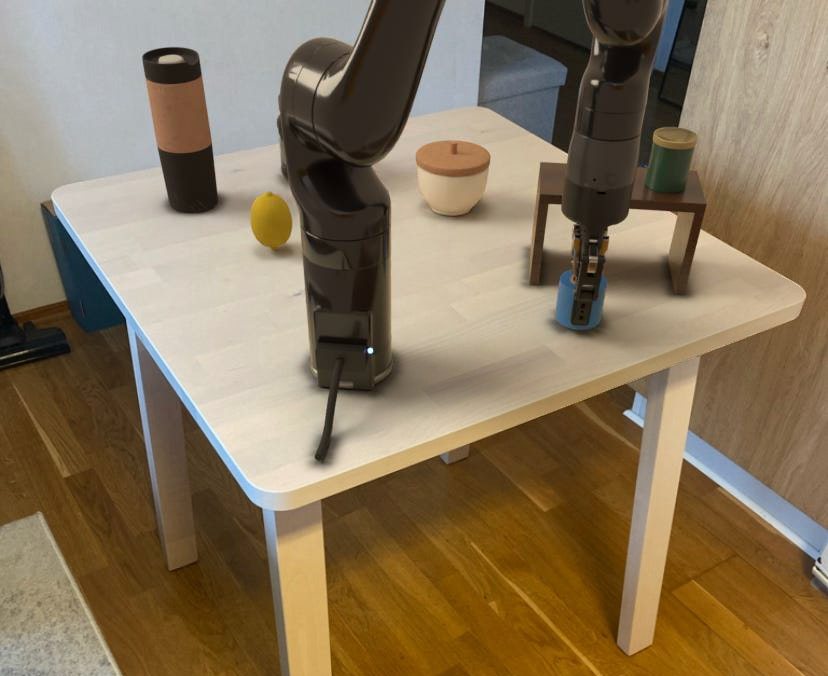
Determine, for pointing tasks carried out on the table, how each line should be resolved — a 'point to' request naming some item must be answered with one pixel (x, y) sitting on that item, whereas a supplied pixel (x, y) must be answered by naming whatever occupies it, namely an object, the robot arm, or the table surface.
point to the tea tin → (670, 159)
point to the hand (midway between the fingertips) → (578, 310)
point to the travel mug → (181, 127)
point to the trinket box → (452, 175)
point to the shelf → (643, 198)
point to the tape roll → (566, 302)
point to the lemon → (271, 220)
